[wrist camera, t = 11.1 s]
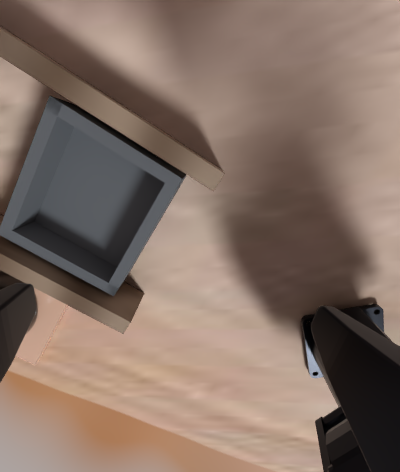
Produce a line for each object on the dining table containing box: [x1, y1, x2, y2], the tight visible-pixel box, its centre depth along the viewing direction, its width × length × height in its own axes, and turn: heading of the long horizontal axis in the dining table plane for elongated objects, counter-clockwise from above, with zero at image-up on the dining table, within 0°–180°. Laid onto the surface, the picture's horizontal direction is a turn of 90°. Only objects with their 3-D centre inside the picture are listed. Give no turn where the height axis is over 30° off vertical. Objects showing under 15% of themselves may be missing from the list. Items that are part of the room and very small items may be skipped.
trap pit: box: [0, 96, 186, 296], centre depth 18 cm, size 9×10×3 cm
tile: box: [16, 288, 68, 365], centre depth 23 cm, size 10×10×1 cm
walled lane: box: [0, 26, 225, 334], centre depth 17 cm, size 21×13×4 cm, turn 58°
